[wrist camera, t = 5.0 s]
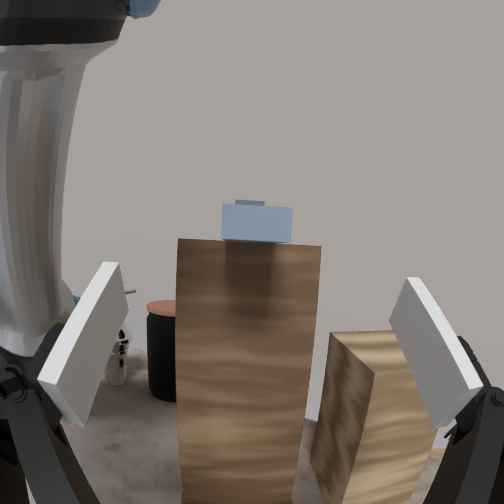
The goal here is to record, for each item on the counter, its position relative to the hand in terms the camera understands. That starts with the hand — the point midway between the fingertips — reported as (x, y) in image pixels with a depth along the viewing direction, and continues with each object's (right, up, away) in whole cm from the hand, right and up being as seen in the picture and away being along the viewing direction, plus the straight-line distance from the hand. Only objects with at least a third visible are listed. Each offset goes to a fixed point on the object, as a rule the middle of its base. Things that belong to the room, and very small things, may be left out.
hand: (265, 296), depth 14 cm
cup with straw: (-29, -26, +44) cm, 58 cm away
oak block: (+12, -28, +16) cm, 35 cm away
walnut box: (-3, -27, +20) cm, 34 cm away
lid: (-1, +3, +14) cm, 15 cm away
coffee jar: (-16, -26, +44) cm, 53 cm away
